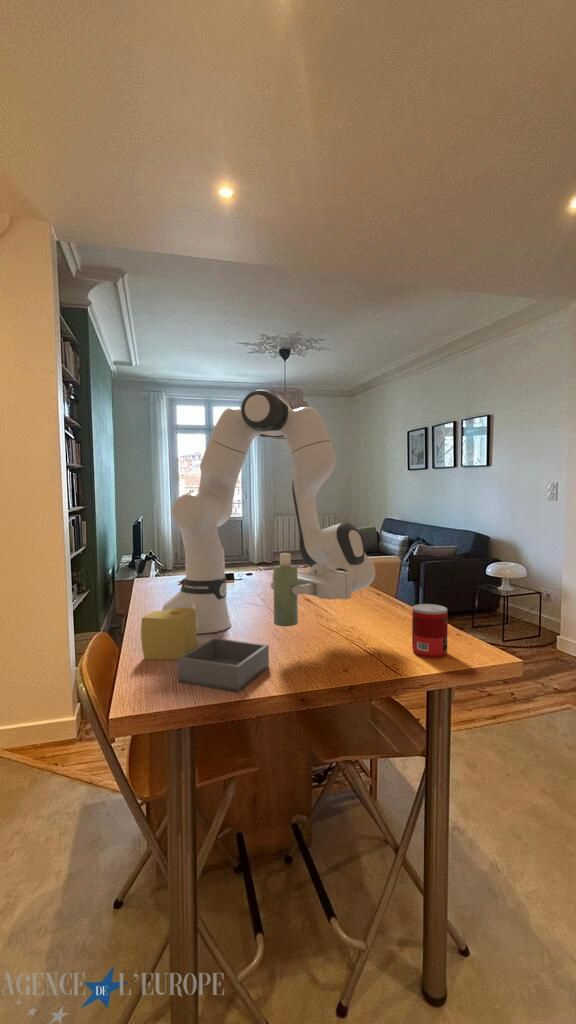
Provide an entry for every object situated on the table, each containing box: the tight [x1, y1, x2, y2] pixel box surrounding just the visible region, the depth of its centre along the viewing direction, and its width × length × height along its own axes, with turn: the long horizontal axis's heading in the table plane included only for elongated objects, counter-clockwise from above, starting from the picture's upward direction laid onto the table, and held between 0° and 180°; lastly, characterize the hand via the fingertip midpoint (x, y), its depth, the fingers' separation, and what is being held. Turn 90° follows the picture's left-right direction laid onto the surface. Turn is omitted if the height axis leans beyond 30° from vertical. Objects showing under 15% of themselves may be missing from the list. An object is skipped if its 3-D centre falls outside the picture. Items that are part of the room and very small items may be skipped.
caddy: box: [177, 637, 270, 693], centre depth 101 cm, size 14×14×5 cm
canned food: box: [411, 603, 449, 659], centre depth 113 cm, size 8×8×11 cm
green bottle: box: [272, 552, 299, 627], centre depth 109 cm, size 6×6×16 cm
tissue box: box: [140, 608, 198, 661], centre depth 114 cm, size 10×11×10 cm
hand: (282, 588), depth 108 cm, fingers closed on green bottle, 5 cm apart
